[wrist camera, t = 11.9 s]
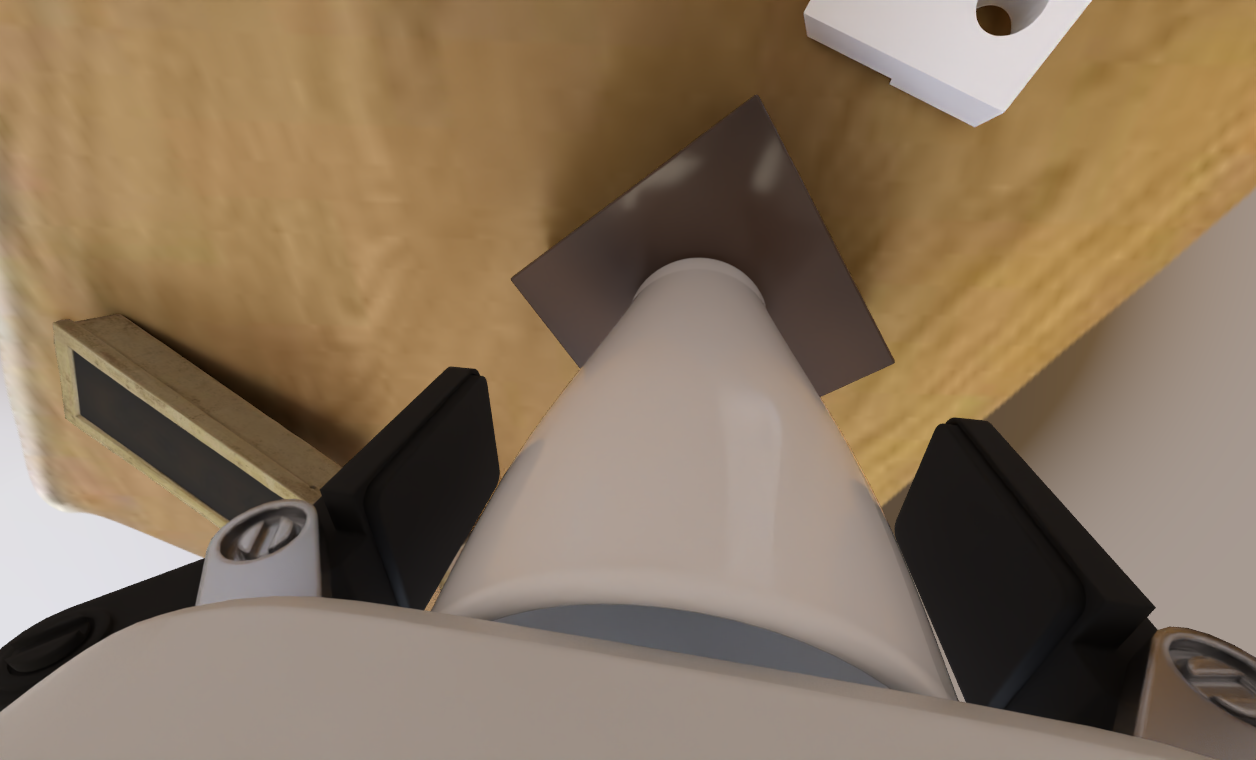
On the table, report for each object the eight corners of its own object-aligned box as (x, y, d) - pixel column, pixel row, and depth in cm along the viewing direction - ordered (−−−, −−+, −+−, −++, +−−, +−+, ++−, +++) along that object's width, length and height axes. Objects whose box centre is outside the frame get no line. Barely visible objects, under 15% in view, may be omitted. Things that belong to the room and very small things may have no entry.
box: (363, 535, 34) (299, 588, 29) (118, 370, 35) (22, 397, 31) (386, 455, 30) (317, 502, 25) (110, 273, 31) (-1, 288, 27)
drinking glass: (805, 243, 17) (1161, 669, 3) (766, 406, 20) (874, 943, 7) (616, 224, 17) (324, 521, 4) (608, 384, 21) (429, 834, 7)
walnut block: (746, 101, 19) (757, 92, 15) (860, 318, 22) (896, 363, 18) (547, 251, 23) (509, 279, 19) (667, 415, 27) (659, 470, 22)
